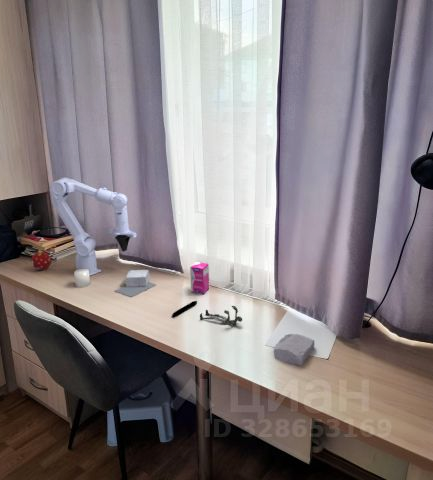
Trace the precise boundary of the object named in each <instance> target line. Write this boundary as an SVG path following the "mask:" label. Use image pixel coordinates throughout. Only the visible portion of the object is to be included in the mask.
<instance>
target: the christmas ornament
mask: <svg viewBox="0 0 433 480" xmlns="http://www.w3.org/2000/svg"><path fill="white" fill-rule="evenodd" d="M51 264H52V257H51V256H50V254H49V253H47V252H45V251H42V250H41V249H38V252H35V253H34V254H33V255H32V257H31V265H32V267H33V268H35V269H36V270H39V271H44V270H46V269H48V268H49V267H50V266H51Z"/></svg>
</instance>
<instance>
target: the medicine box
mask: <svg viewBox="0 0 433 480" xmlns="http://www.w3.org/2000/svg"><path fill="white" fill-rule="evenodd" d="M149 281H150V271H149V270H148V269H137V270H136V269H133V270H131V269H130V270H129V271H128V272H127V275H126V276H125V286H126V287H139V286H147V284H148V282H149Z"/></svg>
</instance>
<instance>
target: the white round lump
mask: <svg viewBox="0 0 433 480" xmlns="http://www.w3.org/2000/svg"><path fill="white" fill-rule="evenodd" d="M73 275H74V276H73V277H74V282H75V283H74V284H75V287H77V288H86V287H88V286H90V285H91V278H90V276H89V270H88V269H79V270H77V269H76V270H75V271H73Z"/></svg>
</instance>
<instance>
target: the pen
mask: <svg viewBox="0 0 433 480" xmlns="http://www.w3.org/2000/svg"><path fill="white" fill-rule="evenodd" d="M197 303H198V300H194V301H191V302H190V303H187V304H186V305H184V306H183V307H181V308H179V309H177V310H176V311H174V312H173V313H172V315H171V317H172V318H174V319H175V318H177V317H179V316H180V315H182V314H184V313H185V312H187V311H189V310H190V309H191V308H192V309H193V307H195V306H196V304H197Z"/></svg>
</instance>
